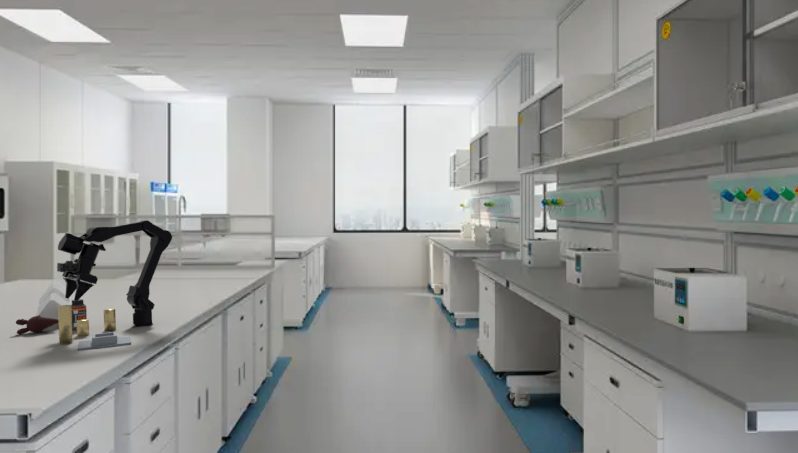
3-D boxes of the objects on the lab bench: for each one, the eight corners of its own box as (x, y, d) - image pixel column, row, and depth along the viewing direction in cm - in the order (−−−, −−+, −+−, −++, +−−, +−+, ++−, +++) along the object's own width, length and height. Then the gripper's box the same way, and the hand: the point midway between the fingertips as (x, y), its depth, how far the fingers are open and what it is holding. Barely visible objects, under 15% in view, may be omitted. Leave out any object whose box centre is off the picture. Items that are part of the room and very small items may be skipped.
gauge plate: (129, 337, 209) (129, 329, 209) (131, 344, 198) (130, 335, 198) (78, 343, 202) (78, 334, 202) (77, 350, 191) (77, 341, 191)
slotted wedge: (39, 333, 238) (31, 301, 227) (42, 313, 246) (35, 282, 235) (77, 329, 243) (71, 299, 232) (79, 310, 251) (74, 280, 240)
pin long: (72, 341, 205) (71, 304, 205) (72, 343, 202) (70, 306, 201) (59, 342, 203) (58, 305, 203) (59, 344, 200) (57, 307, 199)
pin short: (89, 333, 218) (88, 318, 218) (89, 335, 215) (88, 320, 214) (77, 334, 216) (76, 319, 216) (76, 336, 213) (76, 321, 213)
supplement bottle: (79, 330, 224) (78, 301, 224) (66, 329, 226) (64, 300, 225) (90, 327, 230) (89, 298, 230) (77, 326, 231) (76, 298, 231)
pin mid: (115, 328, 226) (115, 308, 226) (116, 330, 222) (115, 309, 222) (104, 329, 224) (103, 309, 224) (104, 331, 220) (103, 310, 220)
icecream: (62, 312, 228) (18, 319, 223) (58, 310, 222) (12, 317, 216) (64, 330, 227) (19, 337, 222) (60, 328, 220) (14, 336, 215)
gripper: (56, 251, 218) (39, 291, 214) (73, 252, 205) (56, 295, 202) (86, 260, 226) (70, 299, 222) (104, 262, 213) (89, 303, 209)
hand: (71, 299), depth 213 cm, fingers open, 9 cm apart
